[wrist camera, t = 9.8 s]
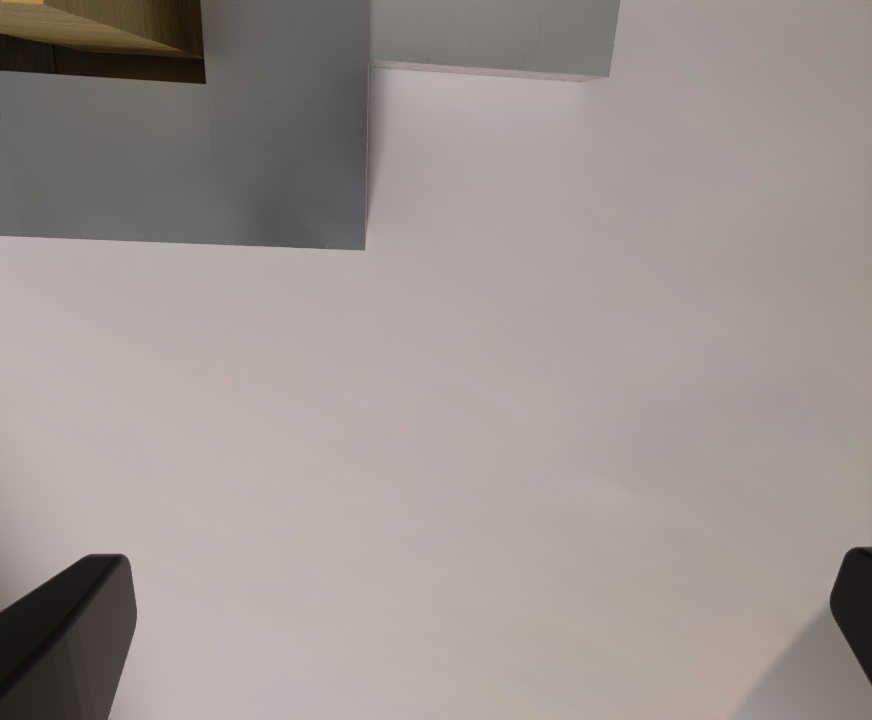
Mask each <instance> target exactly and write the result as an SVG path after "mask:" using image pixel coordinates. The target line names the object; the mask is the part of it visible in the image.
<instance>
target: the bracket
mask: <svg viewBox="0 0 872 720" xmlns="http://www.w3.org/2000/svg"><path fill="white" fill-rule="evenodd" d="M200 2H201V16H202V31H203V45H204V60H205V75H206V84H194V83H179V82H164V81H149V80H134V79H118V78H103V77H88V76H73V75H58V74H56V68H55V61H54V54H53V47H52V44H48V43H43V42H39V41H34V40H29V39H25V38H20V37H16V36H11V35H7V34H2V33H0V236H19V237H44V238H69V239H94V240H118V241H143V242H168V243H193V244H218V245H243V246H268V247H292V248H317V249H342V250H365V244H366V232H367V181H368V126H369V71H370V67H379V68H393V69H407V70H421V71H435V72H450V73H464V74H478V75H492V76H506V77H520V78H534V79H548V80H562V81H577V82H581V81H588V80H594V79H600V78H606V77H609V73H610V66H611V59H612V52H613V46H614V39H615V32H616V25H617V18H618V11H619V4H620V0H200Z"/></svg>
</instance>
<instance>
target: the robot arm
mask: <svg viewBox="0 0 872 720" xmlns="http://www.w3.org/2000/svg"><path fill="white" fill-rule="evenodd" d="M830 609H831V612H832V614H833V617H834V619H835V621H836V623H837V624H838V626H839V628H840V630H841V632H842V633H843V635H844V637H845V639H846V641H847V642H848V644H849V646H850V648H851V650H852V651H853V653H854V655H855V657H856V658H857V660H858V662H859V664H860V666H861V667H862V669H863V671H864V673H865V674H866V676H867V678H868V680H869V682H870V684H871V685H872V547H855V548H852V549H850V550H849V551H848V552H847V553H846V554H845V556H844V559H843V561H842V564H841V567H840V570H839V572H838V575H837V578H836V581H835V583H834V586H833V589H832V592H831V595H830ZM136 620H137V607H136V600H135V593H134V586H133V579H132V572H131V566H130V562H129V560H128V558H127V557H126V556H125V555H123V554H90V555H87V556H85V557H83V558H81V559H80V560H78V561H77V562H75V563H74V564H72V565H71V566H69V567H68V568H66V569H65V570H63V571H62V572H60V573H59V574H57V575H56V576H54V577H52V578H51V579H49V580H48V581H46V582H45V583H43V584H42V585H40V586H39V587H37V588H36V589H34V590H33V591H31V592H30V593H28V594H27V595H25V596H24V597H22V598H21V599H19V600H18V601H16V602H15V603H13V604H11V605H10V606H8V607H7V608H5V609H4V610H2V611H1V612H0V720H108V717H109V714H110V710H111V707H112V704H113V700H114V697H115V694H116V691H117V687H118V684H119V681H120V677H121V674H122V671H123V668H124V664H125V661H126V658H127V654H128V651H129V648H130V645H131V641H132V638H133V635H134V631H135V627H136Z"/></svg>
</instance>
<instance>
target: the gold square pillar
mask: <svg viewBox="0 0 872 720" xmlns="http://www.w3.org/2000/svg"><path fill="white" fill-rule="evenodd" d="M0 33H2V34H7V35H11V36H16V37H20V38H25V39H29V40H34V41H39V42H43V43H48V44H52V45H57V46H62V47H66V48H71V49H75V50H80V51H86V52H102V53H118V54H134V55H149V56H165V57H181V58H197V59H204V45H203V31H202V16H201V2H200V0H0Z"/></svg>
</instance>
